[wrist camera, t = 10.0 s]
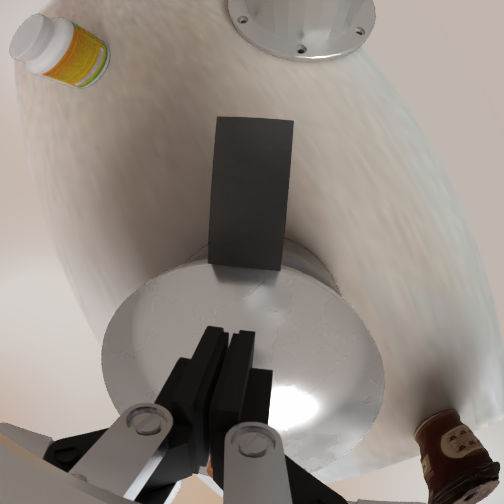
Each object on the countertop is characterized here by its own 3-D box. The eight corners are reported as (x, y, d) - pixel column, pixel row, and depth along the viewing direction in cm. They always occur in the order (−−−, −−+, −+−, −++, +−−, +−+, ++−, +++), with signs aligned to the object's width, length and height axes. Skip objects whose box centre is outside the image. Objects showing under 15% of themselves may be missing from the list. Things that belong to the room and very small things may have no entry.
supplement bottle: (119, 42, 21) (60, 1, 11) (98, 92, 22) (29, 65, 13) (81, 41, 21) (22, 10, 11) (62, 87, 22) (-5, 67, 13)
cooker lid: (339, 474, 17) (343, 506, 14) (131, 445, 18) (116, 473, 15) (426, 150, 12) (461, 144, 9) (102, 128, 13) (64, 120, 10)
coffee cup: (429, 399, 26) (472, 482, 13) (475, 400, 26) (519, 467, 13) (395, 449, 28) (418, 528, 15) (441, 446, 28) (470, 513, 15)
